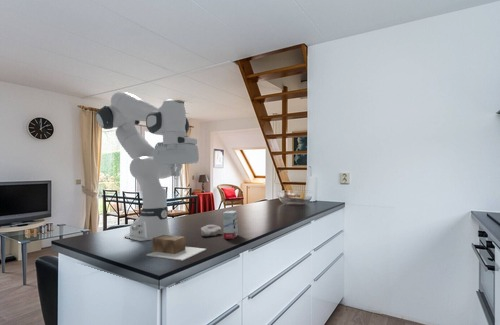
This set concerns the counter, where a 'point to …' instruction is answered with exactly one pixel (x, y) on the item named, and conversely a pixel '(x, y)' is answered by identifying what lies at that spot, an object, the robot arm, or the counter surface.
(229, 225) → the ink box
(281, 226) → the counter surface
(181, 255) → the mat
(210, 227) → the fossil
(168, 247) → the walnut block
